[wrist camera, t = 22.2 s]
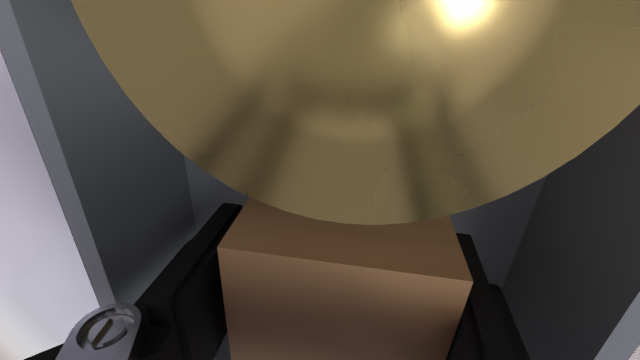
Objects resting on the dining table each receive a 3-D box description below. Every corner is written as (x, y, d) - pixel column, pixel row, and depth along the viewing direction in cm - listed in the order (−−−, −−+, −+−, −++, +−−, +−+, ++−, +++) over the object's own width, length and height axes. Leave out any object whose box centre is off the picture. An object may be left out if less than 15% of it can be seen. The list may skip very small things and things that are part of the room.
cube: (405, 283, 13) (421, 425, 8) (280, 266, 13) (234, 391, 9) (432, 167, 11) (473, 281, 6) (278, 152, 11) (217, 247, 7)
